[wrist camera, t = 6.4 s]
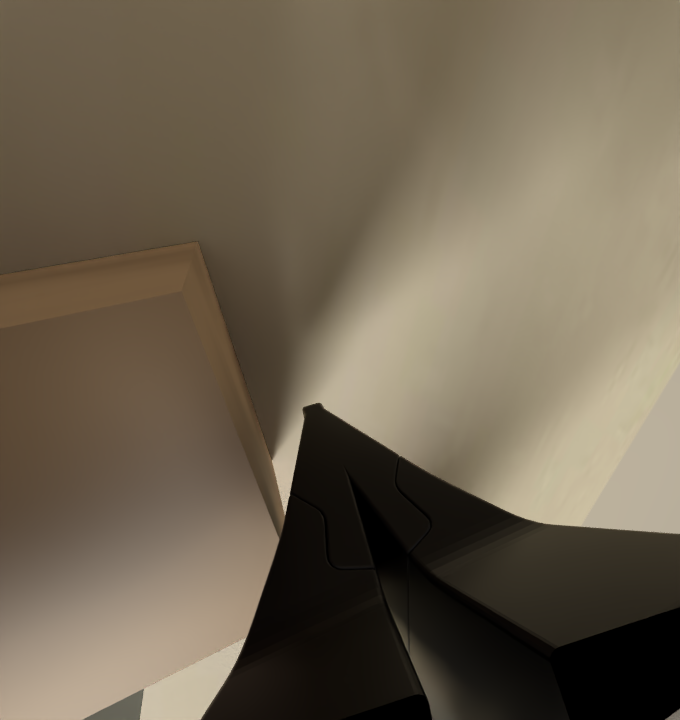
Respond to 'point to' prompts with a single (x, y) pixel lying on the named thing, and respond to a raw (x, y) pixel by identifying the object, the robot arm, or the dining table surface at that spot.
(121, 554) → the walnut block
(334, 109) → the dining table surface
